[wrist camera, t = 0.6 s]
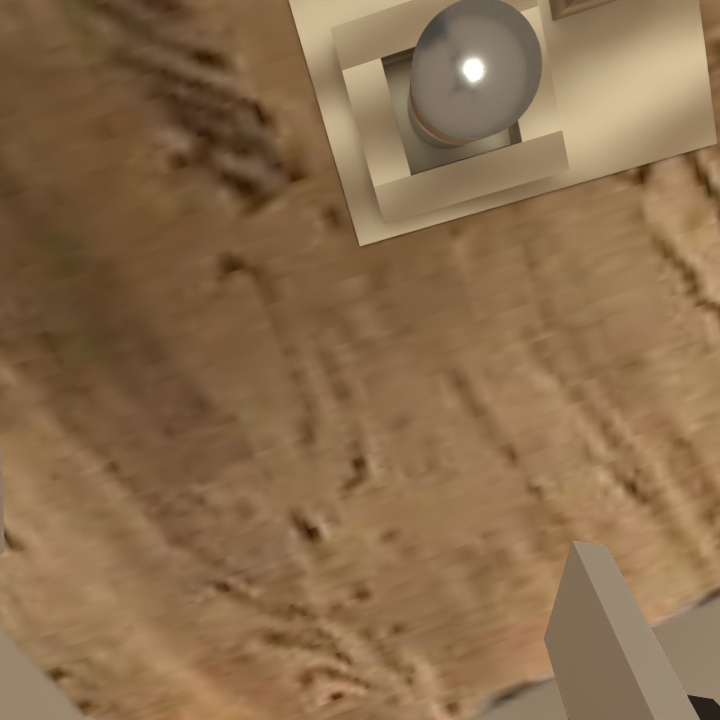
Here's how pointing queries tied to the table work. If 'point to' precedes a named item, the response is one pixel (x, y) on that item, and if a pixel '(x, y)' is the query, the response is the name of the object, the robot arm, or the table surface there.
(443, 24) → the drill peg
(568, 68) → the socket block
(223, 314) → the table surface
